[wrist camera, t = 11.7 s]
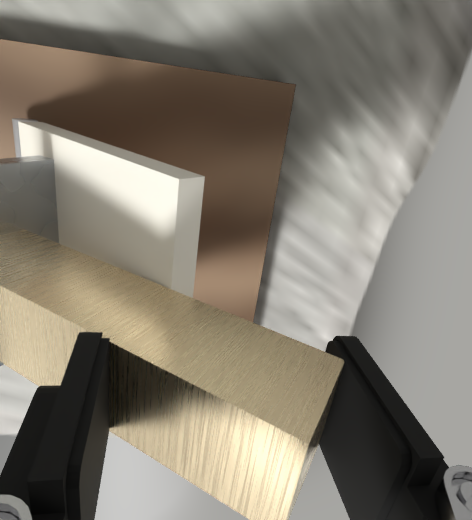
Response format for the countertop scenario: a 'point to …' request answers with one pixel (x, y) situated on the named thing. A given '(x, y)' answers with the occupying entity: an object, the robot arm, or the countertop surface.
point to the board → (170, 142)
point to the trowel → (162, 358)
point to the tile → (120, 204)
